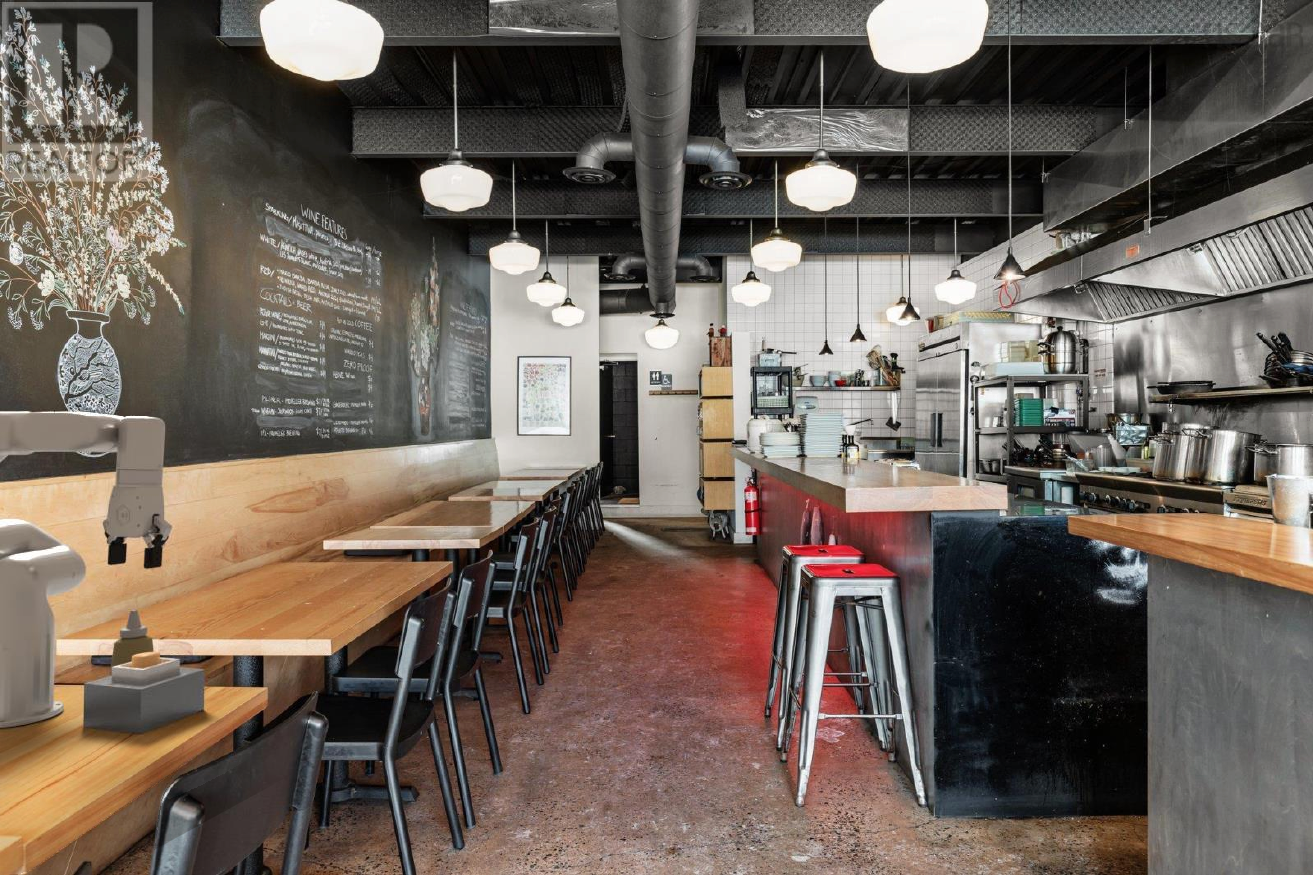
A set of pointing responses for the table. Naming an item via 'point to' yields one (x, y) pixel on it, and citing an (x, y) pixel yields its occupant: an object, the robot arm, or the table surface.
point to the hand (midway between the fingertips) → (134, 566)
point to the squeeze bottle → (131, 641)
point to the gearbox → (143, 697)
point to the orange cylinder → (145, 659)
